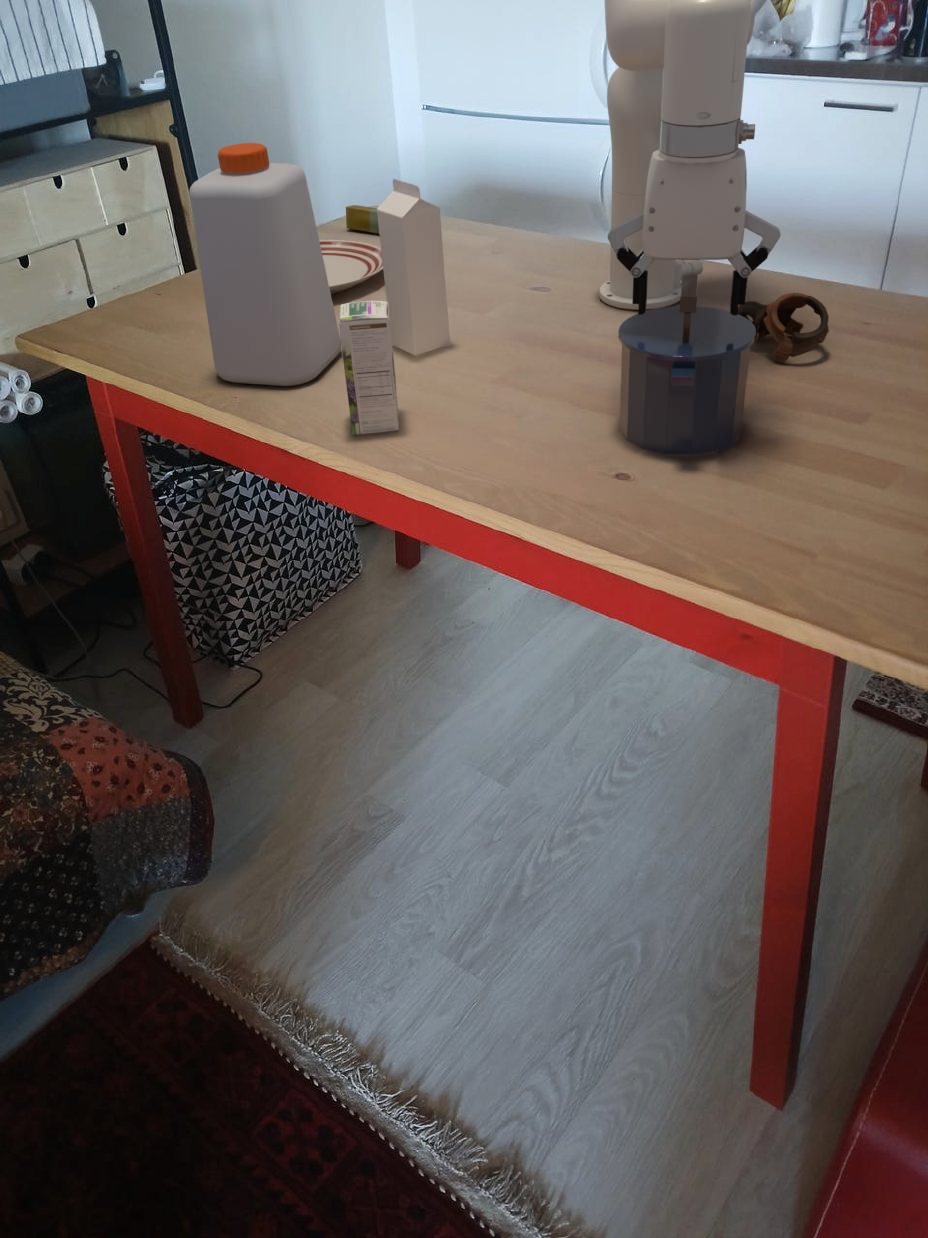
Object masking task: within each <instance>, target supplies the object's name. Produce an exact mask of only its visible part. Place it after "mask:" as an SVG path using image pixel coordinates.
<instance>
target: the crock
mask: <svg viewBox="0 0 928 1238" xmlns="http://www.w3.org/2000/svg"><path fill="white" fill-rule="evenodd" d="M750 351H751V346H750V347H748V348H747V349H745V350H744V351H742V352H740V353H737V354H735V355H732V356H729V357H725V358H721V359H715V360H708V361H696V362H679V361H666V360H660V359H654V358H650V357H646V356H643V355H640V354H637V353H635V352H633V351H631V350H629V349H627V348H626V347H625V346H624V345H623V344H622V343H621V363H620V365H621V367H620V368H621V369H620V405H619V431H620V433H621V434H622V435H623V437H624V439H626V441H627V442H629V443H631V444H633V445H635V446H638V447H639V448H640V449H643V450H647V451H652V452H657V453H661V454H665V455H686V456H688V455H689V456H691V455H696V454H703V453H708V452H709V453H710V452H715V451H717V454H720V453H723V452H724V451H727V450H728V449H730V448H731V447H733V446H734V445H735V444H736V443H737V442H738V440H739V439H740V437H741V434H742V428H743V427H742V426H743V417H744V408H745V398H746V389H747V380H748V379H747V378H748V371H749V362H750V361H749V360H750V354H751V353H750Z"/></svg>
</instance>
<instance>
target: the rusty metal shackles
mask: <svg viewBox="0 0 928 1238" xmlns="http://www.w3.org/2000/svg"><path fill="white" fill-rule="evenodd" d="M806 306H808V307H810V308H811V309H812V310H813V313H815V314H816V315H818V316H819V318H820V324H819V326H818V327H817V328H816V329H814V330H812V331H809V332H801V331H802V329H803V328H804V327H805V326H804V325H805V324H803V323H802V322H800V321H798V320H796V319H795V318H793V317H792V315H793V314H794V312H796V310H797V309H803V308H804V307H806ZM737 314H738V315H741V316H743V317H745V318H746V319H748V320H749V321H750V322H751V323H752V324H753V325H754V327H755V329H756V336H755V340H754V342H756V339H757V340H758V341H761V340H763V339H764V338H766V337H767V336H771V337H772V339H773V340H774V341H775V342H776V343H777V344H778V345H777V347H776V350H775V351H774V352H773V353H772V358H773V359H774V360H775V361H777V362H779V363H780V364H783V363H785V362H786V361H788V360H789V358H790V357H792V358H795V357H797V356H801V355H804V354H807V353H809V352H812V351H814V350H815V349H818V348H819V347H820V344H822V343H824V341H825V339H826V337H827V336H828V334H829V332H830V329H829V313H828V310H827V308H826V306H825V305H824V304H823V303H822V301H820V300H818V299H817V298H815V297H814V296H811V295H807V294H805V293H800V292H793V293H792V292H789V293H786V294H783V295H780V296H779V297H777V298H776V299H775V300H774V301H772V302H771V303H769V304H764V303H763V304H762V303H760V302H758V301H754V300H747V301H745V305H738V313H737ZM749 317H750V318H751V319H752V320H751V319H750V318H749ZM785 334H786V335H789V336H792V338H790V337H788V336H786V335H785ZM754 342H753V343H754Z"/></svg>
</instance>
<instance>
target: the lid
mask: <svg viewBox="0 0 928 1238" xmlns="http://www.w3.org/2000/svg"><path fill="white" fill-rule="evenodd" d="M681 283H682V284H681V296H680V301H679V305H674V306H673V305H670V306H666V307H662V308H657V309H647V310H646V311H645V313H643V315H638V313H635V314H633V315H631V316H630V317H628V318H627V319H624V321H623V322H622V323H621V324H620V326H619V327H618V340H619V342H620V343H621V345H622V344H623V345H624V346H625V347H626V348H627V349H629V350H631V351H633V352H635V353H637V354H640V355H643V356H646V357H650V358H654V359H660V360H666V361H679V362H696V361H708V360H715V359H721V358H725V357H729V356H732V355H735V354H737V353H740V352H742V351H744V350H745V349H747V348H748V347H750V348H751V346H752V345H753V344H754V340H755V341H756V339H755V336H756V329H755V327H754V325H753V324H752V323H751V322H750V321H749V320H748V319H746V318H745V317H743V316H741V315H738V314H737V315H732V314H730V310H726V309H722V308H716V307H710V306H700V305H697V303H698V286H699V285H698V284H699V274H697V275H682V280H681Z"/></svg>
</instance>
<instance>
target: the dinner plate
mask: <svg viewBox="0 0 928 1238" xmlns="http://www.w3.org/2000/svg"><path fill="white" fill-rule="evenodd" d="M319 242H320V246H321V251H322V256H323V260H324V265H325V270H326V274H327V279H328V284H329V289H330V293H331V295H333V294H336V293H337V294H338V293H340V292H343V291H346V290H348V289H350V288H353V287H354V286H356V285H359V284H360V283H363V282H366V281H367V280H369V279H370V278H372V277H374V276H375V275H376V274H378V273H379V272H381V271H382V270H383V261H382V252H381V246H380V247H379V246H377V245H375V244H371V243H367V242H363V241H358V240H348V239H346V240H345V239H319Z"/></svg>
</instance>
